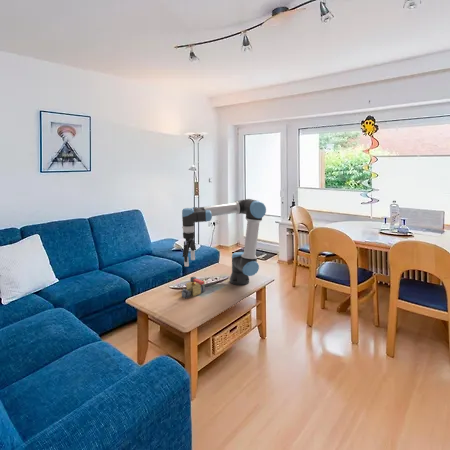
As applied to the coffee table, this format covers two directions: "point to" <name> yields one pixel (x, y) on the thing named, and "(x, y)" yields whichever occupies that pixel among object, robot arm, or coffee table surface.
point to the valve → (192, 289)
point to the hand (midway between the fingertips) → (189, 263)
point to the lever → (196, 280)
